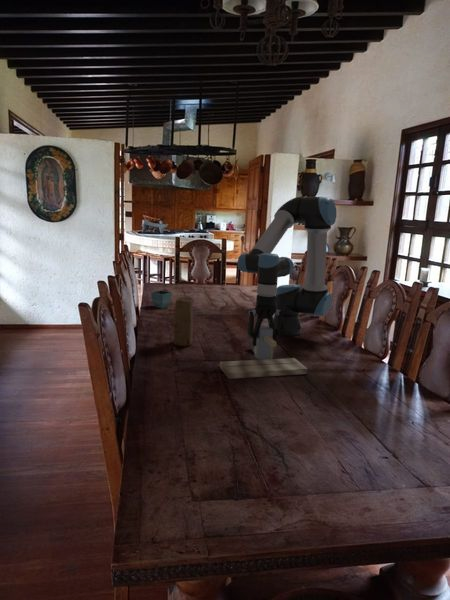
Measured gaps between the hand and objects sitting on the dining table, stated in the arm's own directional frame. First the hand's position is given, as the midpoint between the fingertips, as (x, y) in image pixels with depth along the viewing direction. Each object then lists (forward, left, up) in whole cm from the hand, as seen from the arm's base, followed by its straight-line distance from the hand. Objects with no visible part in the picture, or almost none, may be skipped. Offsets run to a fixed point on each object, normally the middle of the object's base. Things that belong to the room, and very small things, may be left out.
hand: (262, 353), depth 177 cm
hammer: (0, +4, -2) cm, 4 cm away
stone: (+26, -28, -4) cm, 38 cm away
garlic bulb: (-3, -14, -4) cm, 14 cm away
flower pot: (+26, -100, -4) cm, 103 cm away
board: (+3, +9, -3) cm, 10 cm away
